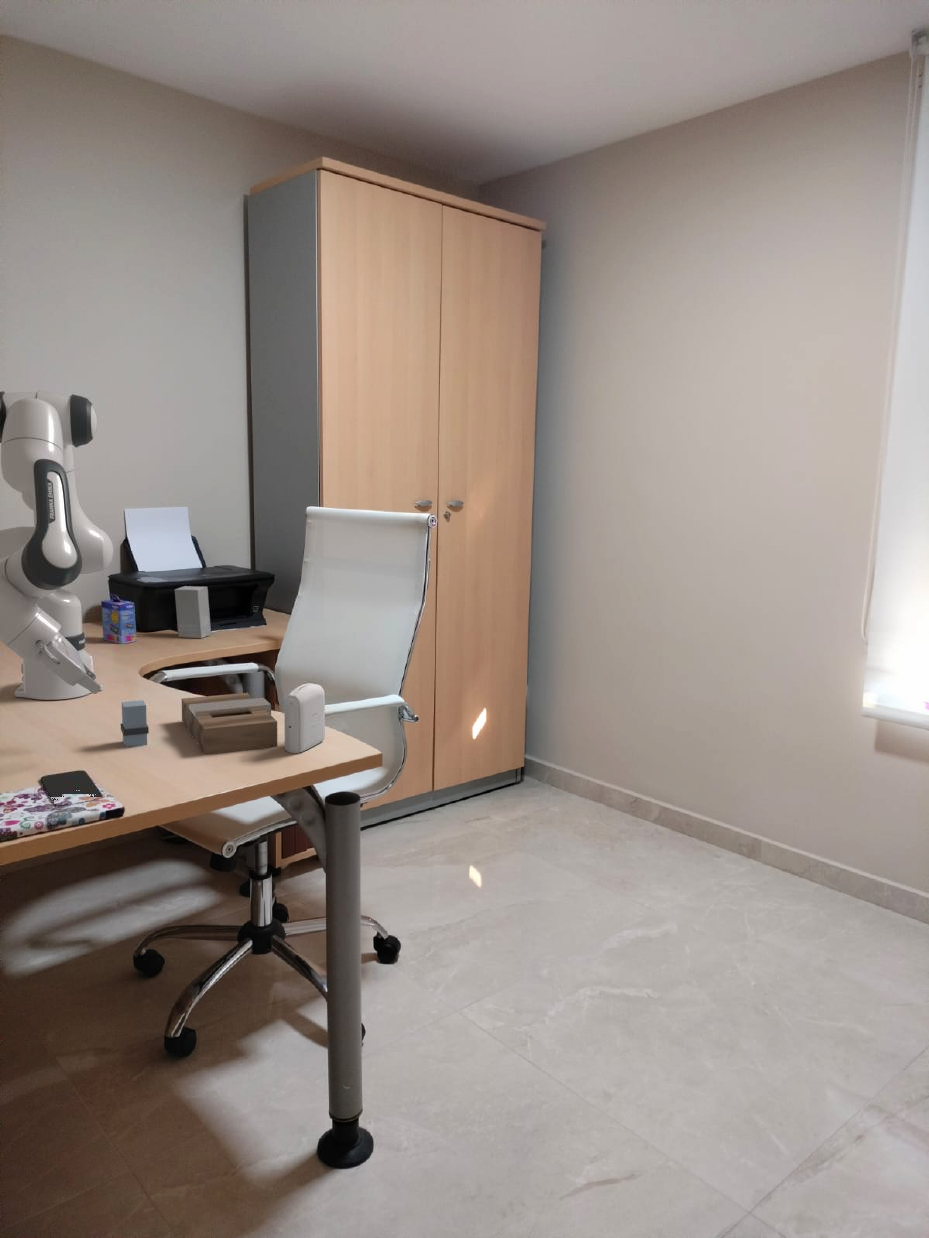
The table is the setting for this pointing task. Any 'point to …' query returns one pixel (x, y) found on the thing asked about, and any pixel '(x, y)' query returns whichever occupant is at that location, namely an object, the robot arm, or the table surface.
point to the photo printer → (304, 717)
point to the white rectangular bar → (230, 707)
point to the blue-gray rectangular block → (134, 723)
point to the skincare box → (192, 612)
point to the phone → (69, 784)
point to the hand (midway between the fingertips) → (95, 684)
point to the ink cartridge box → (118, 620)
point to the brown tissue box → (229, 726)
